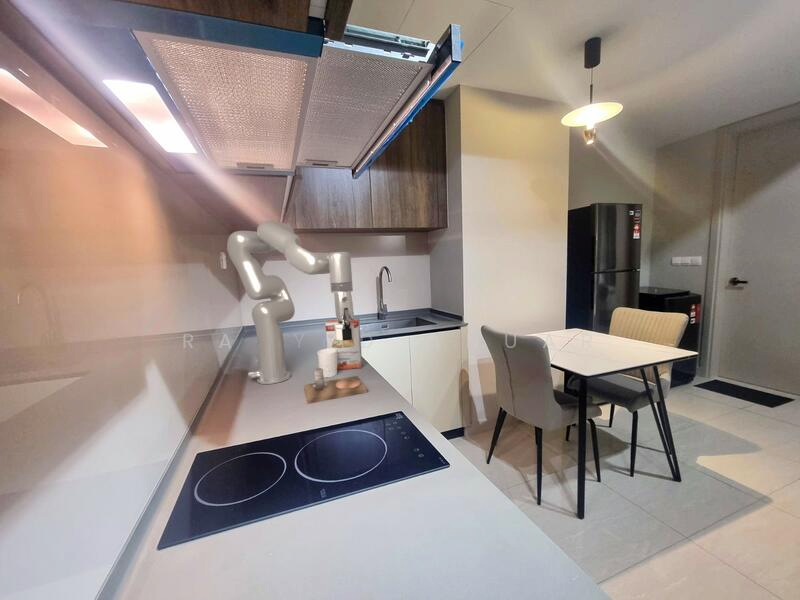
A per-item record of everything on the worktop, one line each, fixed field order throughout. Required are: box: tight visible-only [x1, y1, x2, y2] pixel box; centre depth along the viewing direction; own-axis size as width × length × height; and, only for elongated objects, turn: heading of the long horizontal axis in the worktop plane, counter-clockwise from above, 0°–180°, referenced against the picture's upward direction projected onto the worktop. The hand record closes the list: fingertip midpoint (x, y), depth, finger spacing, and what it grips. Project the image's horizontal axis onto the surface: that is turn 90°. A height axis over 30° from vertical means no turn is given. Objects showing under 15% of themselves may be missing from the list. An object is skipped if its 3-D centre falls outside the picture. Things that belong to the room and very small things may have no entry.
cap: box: [335, 322, 355, 340], centre depth 113 cm, size 7×7×5 cm
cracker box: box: [325, 318, 363, 370], centre depth 138 cm, size 14×6×21 cm, turn 92°
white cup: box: [316, 348, 338, 379], centre depth 130 cm, size 8×8×10 cm
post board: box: [303, 367, 368, 405], centre depth 113 cm, size 20×14×8 cm
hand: (345, 337), depth 113 cm, fingers closed on cap, 6 cm apart
